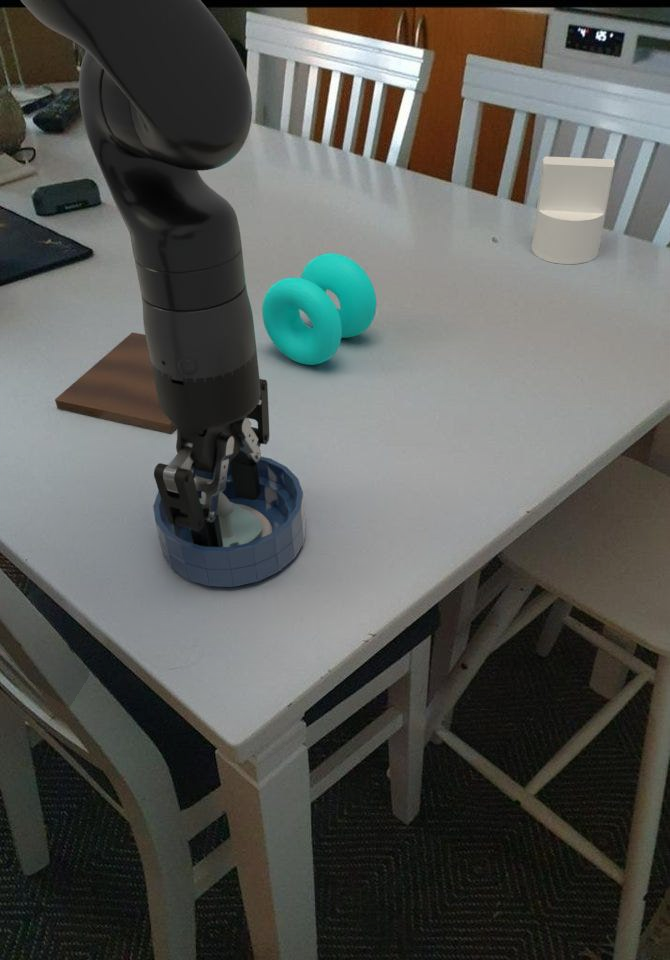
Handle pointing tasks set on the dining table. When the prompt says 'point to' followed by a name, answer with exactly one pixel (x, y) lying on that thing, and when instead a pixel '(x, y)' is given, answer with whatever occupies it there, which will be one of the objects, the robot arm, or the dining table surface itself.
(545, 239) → the cylinder with rectangular tab
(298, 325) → the donuts
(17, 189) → the dining table surface
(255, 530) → the pacifier
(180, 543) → the bowl
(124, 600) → the dining table surface
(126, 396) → the board
